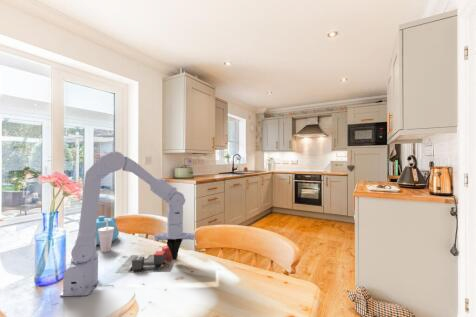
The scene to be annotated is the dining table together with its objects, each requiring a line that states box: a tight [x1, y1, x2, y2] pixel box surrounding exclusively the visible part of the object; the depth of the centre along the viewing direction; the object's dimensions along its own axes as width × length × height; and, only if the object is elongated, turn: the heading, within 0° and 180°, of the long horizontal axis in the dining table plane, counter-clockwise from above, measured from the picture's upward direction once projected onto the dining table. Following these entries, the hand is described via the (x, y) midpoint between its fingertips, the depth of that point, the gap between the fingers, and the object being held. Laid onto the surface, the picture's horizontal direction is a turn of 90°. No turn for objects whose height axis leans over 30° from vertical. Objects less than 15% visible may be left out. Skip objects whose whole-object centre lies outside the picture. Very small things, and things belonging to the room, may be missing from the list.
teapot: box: [78, 215, 120, 246], centre depth 113 cm, size 20×20×13 cm
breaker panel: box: [114, 253, 179, 274], centre depth 87 cm, size 15×19×2 cm
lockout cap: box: [161, 244, 172, 259], centre depth 93 cm, size 4×4×4 cm
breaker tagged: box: [153, 250, 165, 264], centre depth 87 cm, size 3×3×4 cm
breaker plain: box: [132, 257, 144, 270], centre depth 82 cm, size 3×3×3 cm
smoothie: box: [98, 219, 114, 253], centre depth 102 cm, size 6×6×14 cm
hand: (174, 258), depth 87 cm, fingers closed
